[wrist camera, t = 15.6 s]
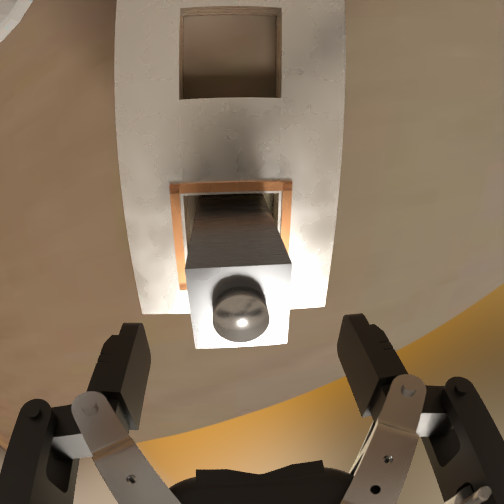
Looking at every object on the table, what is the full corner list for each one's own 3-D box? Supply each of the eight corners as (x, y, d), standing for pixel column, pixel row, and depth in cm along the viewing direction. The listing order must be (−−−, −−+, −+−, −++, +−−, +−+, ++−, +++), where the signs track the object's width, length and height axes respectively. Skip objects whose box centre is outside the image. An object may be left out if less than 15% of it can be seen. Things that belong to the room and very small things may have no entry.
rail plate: (127, -13, 14) (117, -23, 12) (333, -14, 16) (344, -23, 14) (147, 299, 25) (142, 315, 23) (317, 292, 26) (325, 307, 24)
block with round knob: (199, 197, 22) (182, 279, 12) (262, 195, 22) (296, 273, 12) (203, 254, 24) (195, 360, 14) (262, 252, 24) (289, 354, 14)
